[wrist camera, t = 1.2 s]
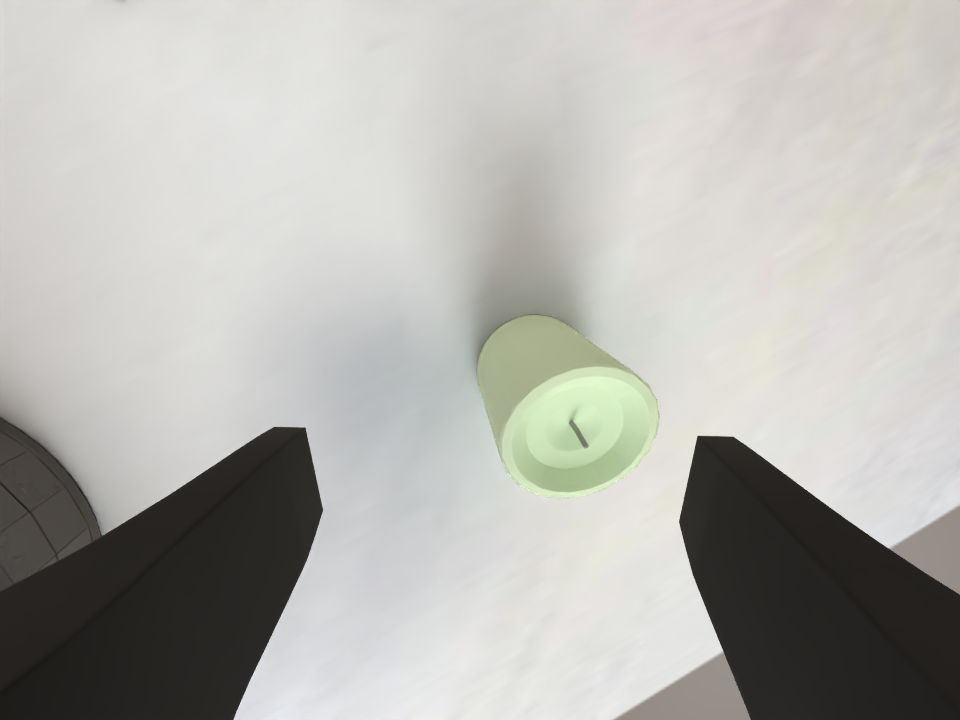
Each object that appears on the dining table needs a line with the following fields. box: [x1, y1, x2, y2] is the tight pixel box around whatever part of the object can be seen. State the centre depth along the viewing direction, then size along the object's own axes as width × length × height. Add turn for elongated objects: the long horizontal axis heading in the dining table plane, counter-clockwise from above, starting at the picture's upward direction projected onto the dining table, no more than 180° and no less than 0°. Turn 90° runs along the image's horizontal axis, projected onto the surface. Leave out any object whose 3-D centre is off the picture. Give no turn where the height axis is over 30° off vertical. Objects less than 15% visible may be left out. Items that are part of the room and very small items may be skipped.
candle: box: [477, 315, 659, 498], centre depth 18 cm, size 5×5×8 cm
